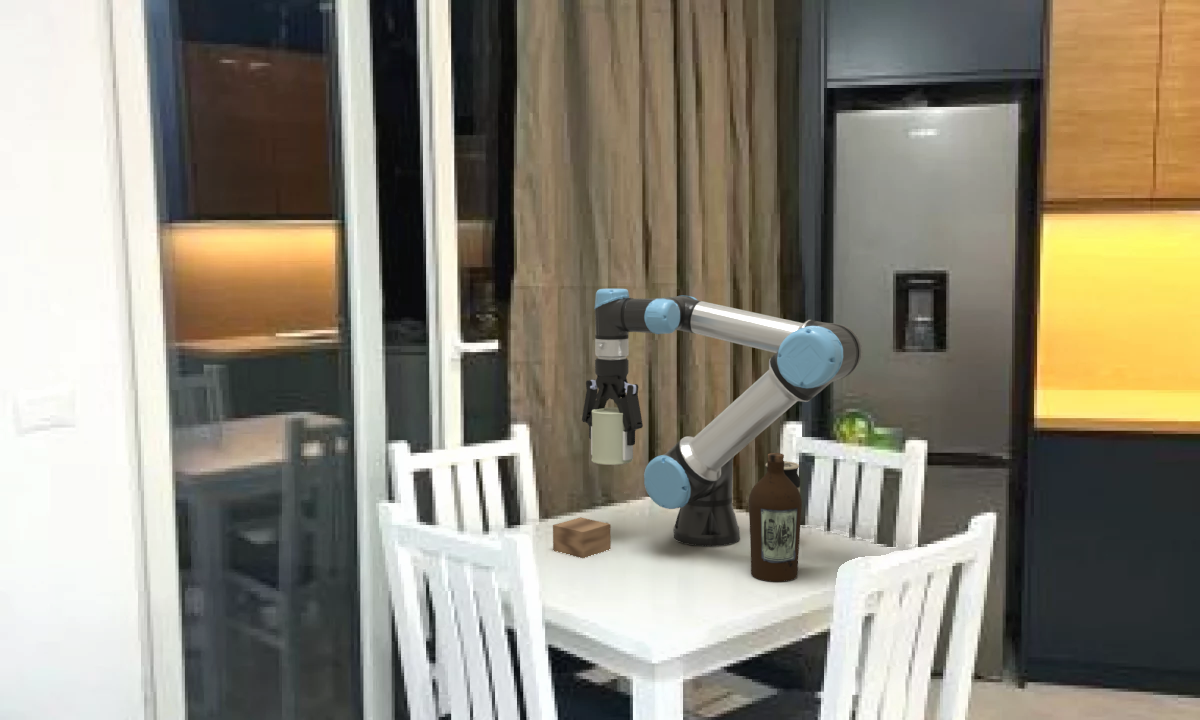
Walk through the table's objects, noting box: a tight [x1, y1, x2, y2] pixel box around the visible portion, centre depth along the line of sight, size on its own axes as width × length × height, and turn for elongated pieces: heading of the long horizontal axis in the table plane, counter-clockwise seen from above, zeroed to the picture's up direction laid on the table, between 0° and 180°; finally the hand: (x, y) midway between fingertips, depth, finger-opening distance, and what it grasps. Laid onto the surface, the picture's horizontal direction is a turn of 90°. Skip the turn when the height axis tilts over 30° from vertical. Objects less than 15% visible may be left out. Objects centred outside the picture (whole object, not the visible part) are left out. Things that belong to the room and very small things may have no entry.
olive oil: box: [748, 452, 803, 583], centre depth 217 cm, size 11×11×25 cm
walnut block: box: [552, 516, 612, 559], centre depth 237 cm, size 9×9×6 cm
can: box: [591, 407, 633, 466], centre depth 242 cm, size 9×9×12 cm
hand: (611, 456), depth 243 cm, fingers closed on can, 9 cm apart
